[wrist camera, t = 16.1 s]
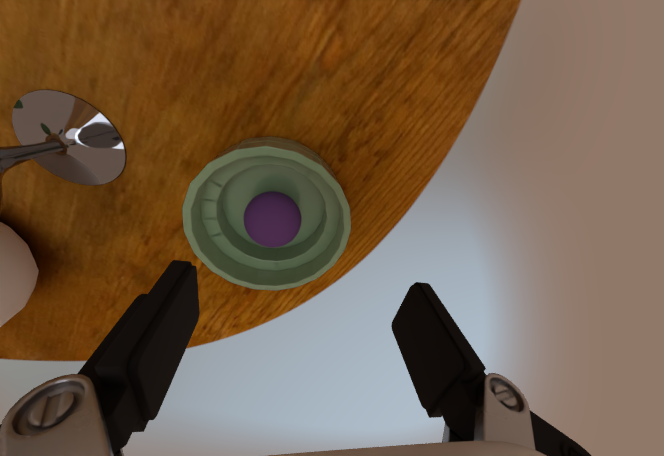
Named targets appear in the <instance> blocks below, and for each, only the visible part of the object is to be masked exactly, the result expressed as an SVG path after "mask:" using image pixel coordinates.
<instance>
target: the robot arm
mask: <svg viewBox="0 0 664 456" xmlns="http://www.w3.org/2000/svg"><path fill="white" fill-rule="evenodd" d="M198 318H199V299H198V284H197V270H196V266H192V264H191V262H188V261H177V260H174V261H172V262H171V263H170V265H169V266H168V267H167V269H166V270H165V271H164V273H163V274H162V276H161V277H160V278H159V280H158V281H157V282H156V284H155V285H154V286H153V288H152V289H151V291H150V292H149V293H148V294H141V295H139V296H138V297H137V298H136V299H135V300H134V301H133V303H132V304H131V305H130V306H129V308H128V309H127V310H126V312H125V313H124V314H123V316H122V317H121V318H120V319H119V321H118V322H117V323H116V325H115V326H114V327H113V328H112V330H111V331H110V332H109V334H108V335H107V336H106V337H105V339H104V340H103V341H102V343H101V344H100V345H99V346H98V348H97V349H96V350H95V352H94V353H93V354H92V356H91V357H90V358H89V359H88V361H87V362H86V363H85V365H84V366H83V367H82V369H81V370H80V371H79V372H78V374H70V375H64V376H60V377H57V378H54V379H52V380H49V381H47V382H45V383H43V384H41V385H39V386H38V387H36V388H34V389H33V390H31V391H30V392H29V393H27V394H26V395H25V396H23V397H22V398H21V399H20V400H19V401H18V402H17V403H16V404H15V405H14V406H13V407H12V408H11V409H10V410H9V412H8V413H7V415H6V416H5V418H4V419H3V421H2V424H1V425H0V456H124V454H123V451H122V448H123V447H124V446H125V445H126V444H127V442H128V440H129V438H130V436H131V434H132V432H142V431H144V429H145V428H146V425H147V423H148V421H149V420H154V419H155V417H156V416H157V414H158V412H159V409H160V407H161V405H162V403H163V400H164V398H165V395H166V393H167V391H168V389H169V386H170V384H171V382H172V379H173V377H174V375H175V372H176V370H177V368H178V366H179V363H180V361H181V359H182V356H183V354H184V352H185V349H186V347H187V345H188V343H189V340H190V338H191V336H192V333H193V331H194V329H195V326H196V324H197V322H198ZM392 331H393V333H394V336H395V338H396V341H397V344H398V346H399V349H400V351H401V354H402V356H403V359H404V361H405V364H406V367H407V369H408V372H409V374H410V377H411V380H412V382H413V385H414V387H415V389H416V392H417V395H418V398H419V400H420V402H421V405H422V407H423V408H425V409H426V411H427V414H428V416H429V417H430V418H431V417H441V416H443V418H444V421H445V427H444V434H443V440H442V443H429V444H414V445H401V446H386V447H373V448H359V449H346V450H334V451H320V452H307V453H294V454H281V455H269V456H591V455H590V454H589V453H588V452H587V451H586V450H585V449H583V448H582V447H581V446H580V445H579V444H577V443H576V442H575V441H573V440H572V439H570V438H569V437H567V436H566V435H564V434H563V433H562V432H560V431H559V430H557V429H556V428H554V427H553V426H552V425H550V424H549V423H547V422H546V421H544V420H543V419H541V418H540V417H539V416H537V415H536V414H534V413H533V412H531V411H530V410H529V406H528V403H527V401H526V399H525V397H524V395H523V394H522V393H521V391H520V390H519V389H518V388H517V387H516V386H515V385H514V384H513V383H512V382H511V381H509V380H508V379H507V378H505V377H503V376H501V375H499V374H495V373H489V374H488V375H486V374H485V373H484V370H485V369H486V368H485V366H484V365H483V363H482V362H481V360H480V359H479V357H478V356H477V354H476V353H475V351H474V350H473V349H472V347H471V345H470V344H469V343H468V341H467V339H466V338H465V336H464V335H463V334H462V332H461V331H460V329H459V327H458V326H457V325H456V323H455V322H454V320H453V319H452V317H451V316H450V314H449V313H448V311H447V310H446V308H445V307H444V305H443V304H442V303H441V301H440V299H439V298H438V296H437V295H436V294H435V292H434V290H433V289H432V287H431V286H430V285H429V284H428V283H418V282H416V283H415V284H414V285H412V286H411V287H410V288H409V291H408V292H407V294H406V296H405V298H404V300H403V302H402V304H401V306H400V308H399V310H398V312H397V314H396V316H395V318H394V320H393V322H392Z"/></svg>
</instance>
